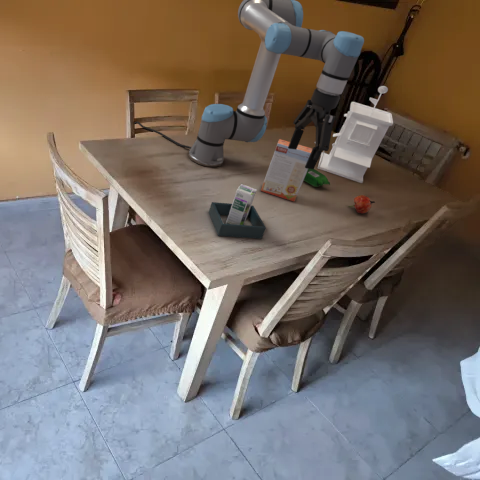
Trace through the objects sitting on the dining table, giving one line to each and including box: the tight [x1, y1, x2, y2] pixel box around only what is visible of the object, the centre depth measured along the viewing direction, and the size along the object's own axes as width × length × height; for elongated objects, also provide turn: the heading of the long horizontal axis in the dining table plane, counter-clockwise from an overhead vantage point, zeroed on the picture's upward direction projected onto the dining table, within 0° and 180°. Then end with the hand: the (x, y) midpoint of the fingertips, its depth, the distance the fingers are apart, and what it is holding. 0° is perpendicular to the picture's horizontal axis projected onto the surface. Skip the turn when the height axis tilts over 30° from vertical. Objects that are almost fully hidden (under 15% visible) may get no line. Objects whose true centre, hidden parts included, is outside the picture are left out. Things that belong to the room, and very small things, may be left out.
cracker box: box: [260, 138, 313, 202], centre depth 167 cm, size 14×6×21 cm, turn 71°
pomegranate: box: [348, 194, 376, 214], centre depth 172 cm, size 7×7×10 cm
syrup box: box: [225, 183, 258, 225], centre depth 143 cm, size 6×6×14 cm
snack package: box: [303, 168, 331, 188], centre depth 187 cm, size 7×16×5 cm, turn 35°
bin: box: [208, 201, 267, 240], centre depth 146 cm, size 16×14×4 cm
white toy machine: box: [313, 85, 394, 184], centre depth 197 cm, size 24×28×40 cm
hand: (300, 158), depth 136 cm, fingers open, 13 cm apart
